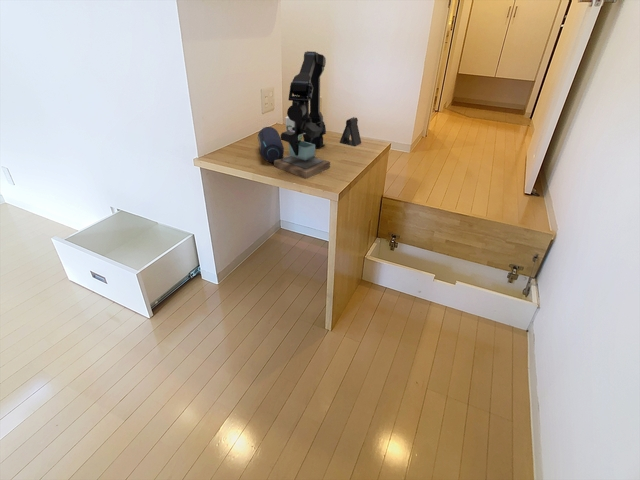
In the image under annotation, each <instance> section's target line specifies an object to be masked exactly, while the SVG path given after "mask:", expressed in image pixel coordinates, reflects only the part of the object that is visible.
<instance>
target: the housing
mask: <svg viewBox="0 0 640 480" xmlns="http://www.w3.org/2000/svg"><path fill="white" fill-rule="evenodd" d="M300 140H301V142H300V143H299V150H298V156H296V155H295V153H294V151H293V149H292V147H291V145H290V144H289V143H288V154H289V155H291V156H293V157H296V158H299V159H302V160H305V161H306V160H308V159H310V158H313V157H316V149H315V144H311V143H308V142H305V141H304V140H302V139H300Z"/></svg>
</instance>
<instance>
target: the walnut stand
mask: <svg viewBox="0 0 640 480" xmlns="http://www.w3.org/2000/svg"><path fill="white" fill-rule="evenodd" d="M273 167H274V168H277V169H280V170H282V171H284V172H288V173H290V174H293V175H295V176H298V177H301V178H304V179H308V178H311V177H312V176H315V175H317V174H320V173H322V172H323V171H326V170H328V169H330V168H331V161H329V160H326V159H323V158H320V157H316V156H315V157H313V158H310V159H308V160H306V161H305V160H302V159H299V158H296V157H293V156H291V155H288V154H287V155H285V156H283V157H282V158H281V159H277V160H274V162H273Z"/></svg>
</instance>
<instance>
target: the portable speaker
mask: <svg viewBox="0 0 640 480" xmlns="http://www.w3.org/2000/svg"><path fill="white" fill-rule="evenodd" d="M257 141H258V146H259V153H260V155H261V157H262V159H264V161H266V162H269V163H274V160H277V159H281V158H282V157H284V155H285V149H284V148H285V147H284V144H283V140H281V135H280V133H279V131H278V130H277V129H275V128H274V127H273V126H272V127H271V126H266V127H262V129H260V131H259V132H258V134H257Z"/></svg>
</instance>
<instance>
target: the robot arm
mask: <svg viewBox="0 0 640 480" xmlns="http://www.w3.org/2000/svg"><path fill="white" fill-rule="evenodd" d="M326 60H327V59H326V56H324V54H322V53H321V54H320V53H319V52H316V51H308V50H307V51H304V54H303V61H302V64H301V67H300V70H299V73H298V74H296V75H295V76H294V77H293V79H292V81H291V82H290V86H289V95H288V101H292V102H291V103H292V104H291V105H290V106H289V107H288V109H287V111H286V112H287V113H286V114H287V116H288V117H289V119H290V120H292V121H294V126H295V127H293V128H292V130H294V131H295V132H291V131H286V130H285V131H284V132H283V131H282V132H281V133H280V139H281V141H282V142H285V143H286V142H287V143H288V145H289V144H290V145H291V147H292V149H293V151H294V153H295V155H296V156H298V150H299V143H300V142H301V140H302V139H303V141H305V142H308V143H311V144H315V150H317V149H320V148H322V147H324V146H325V144H324V135H327V131H326V130H327V128H326V124H325V121H324V116H323V114H322V113H321V108H320V107H321V76H322V75H323V73H324V70H325V68H326ZM301 135H302V139H299V136H301Z"/></svg>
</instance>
